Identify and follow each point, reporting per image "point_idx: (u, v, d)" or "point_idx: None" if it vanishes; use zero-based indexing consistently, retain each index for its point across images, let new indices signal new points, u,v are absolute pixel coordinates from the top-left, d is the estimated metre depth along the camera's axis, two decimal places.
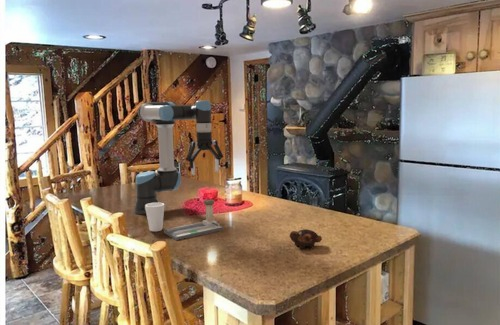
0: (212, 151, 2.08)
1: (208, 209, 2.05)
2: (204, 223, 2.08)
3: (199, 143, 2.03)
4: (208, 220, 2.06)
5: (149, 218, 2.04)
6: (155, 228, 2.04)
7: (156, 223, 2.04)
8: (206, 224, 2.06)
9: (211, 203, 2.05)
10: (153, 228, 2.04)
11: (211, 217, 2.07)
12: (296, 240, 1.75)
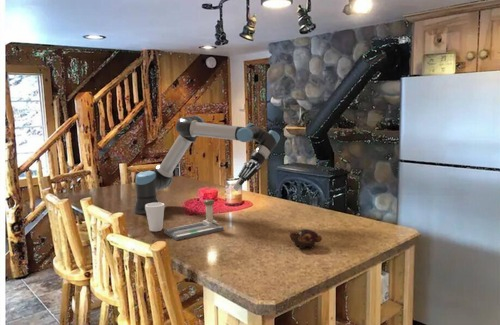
0: (248, 169, 2.18)
1: (208, 209, 2.05)
2: (204, 223, 2.08)
3: (249, 161, 2.22)
4: (208, 220, 2.06)
5: (149, 218, 2.04)
6: (155, 228, 2.04)
7: (156, 223, 2.04)
8: (206, 224, 2.06)
9: (211, 203, 2.05)
10: (153, 228, 2.04)
11: (211, 217, 2.07)
12: (296, 240, 1.75)
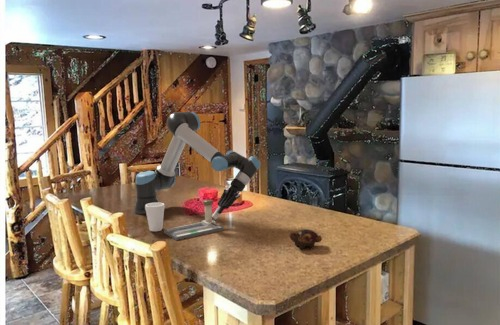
0: (227, 197, 2.12)
1: (207, 209, 2.05)
2: (203, 223, 2.07)
3: (229, 188, 2.17)
4: (207, 220, 2.06)
5: (149, 218, 2.04)
6: (155, 228, 2.04)
7: (156, 223, 2.04)
8: (205, 224, 2.06)
9: (210, 203, 2.04)
10: (153, 228, 2.04)
11: (210, 217, 2.06)
12: (296, 240, 1.75)
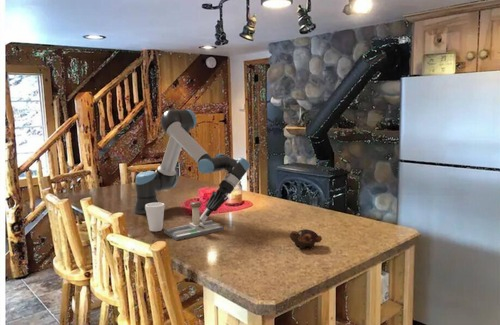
0: (215, 199, 2.08)
1: (194, 211, 2.01)
2: (190, 226, 2.03)
3: (217, 190, 2.13)
4: (194, 223, 2.02)
5: (149, 218, 2.04)
6: (155, 228, 2.04)
7: (156, 223, 2.04)
8: (192, 227, 2.02)
9: (197, 205, 2.00)
10: (153, 228, 2.04)
11: (198, 220, 2.02)
12: (296, 240, 1.75)
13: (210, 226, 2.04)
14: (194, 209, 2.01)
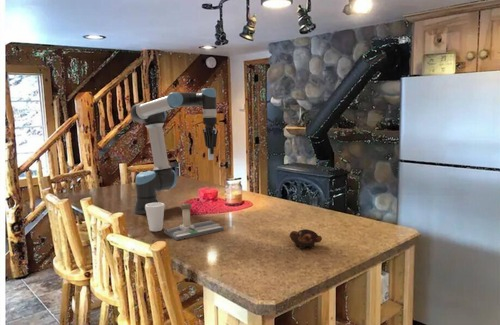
0: (209, 137, 2.22)
1: (185, 213, 1.98)
2: (181, 228, 2.00)
3: (205, 127, 2.25)
4: (185, 225, 1.99)
5: (149, 218, 2.04)
6: (155, 228, 2.04)
7: (156, 223, 2.04)
8: (183, 229, 1.99)
9: (188, 207, 1.97)
10: (153, 228, 2.04)
11: (188, 221, 1.99)
12: (296, 240, 1.75)
13: (210, 226, 2.04)
14: (184, 211, 1.98)
